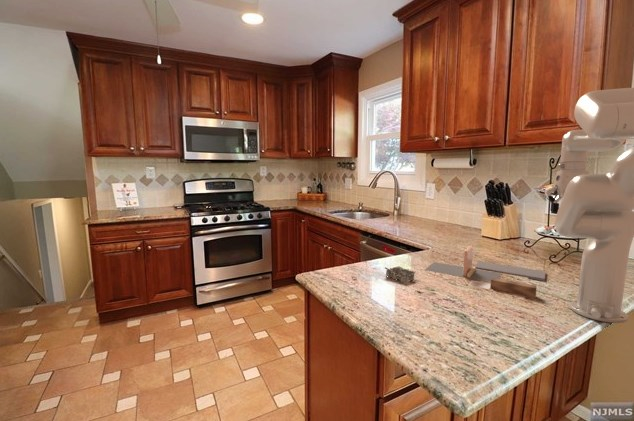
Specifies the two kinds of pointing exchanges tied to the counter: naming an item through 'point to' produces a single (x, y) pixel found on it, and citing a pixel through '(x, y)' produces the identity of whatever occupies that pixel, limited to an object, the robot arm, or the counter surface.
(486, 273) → the tile mat
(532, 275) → the slate board
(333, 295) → the counter surface
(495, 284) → the turner
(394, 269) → the mottled grey block
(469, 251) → the tile
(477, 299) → the counter surface
